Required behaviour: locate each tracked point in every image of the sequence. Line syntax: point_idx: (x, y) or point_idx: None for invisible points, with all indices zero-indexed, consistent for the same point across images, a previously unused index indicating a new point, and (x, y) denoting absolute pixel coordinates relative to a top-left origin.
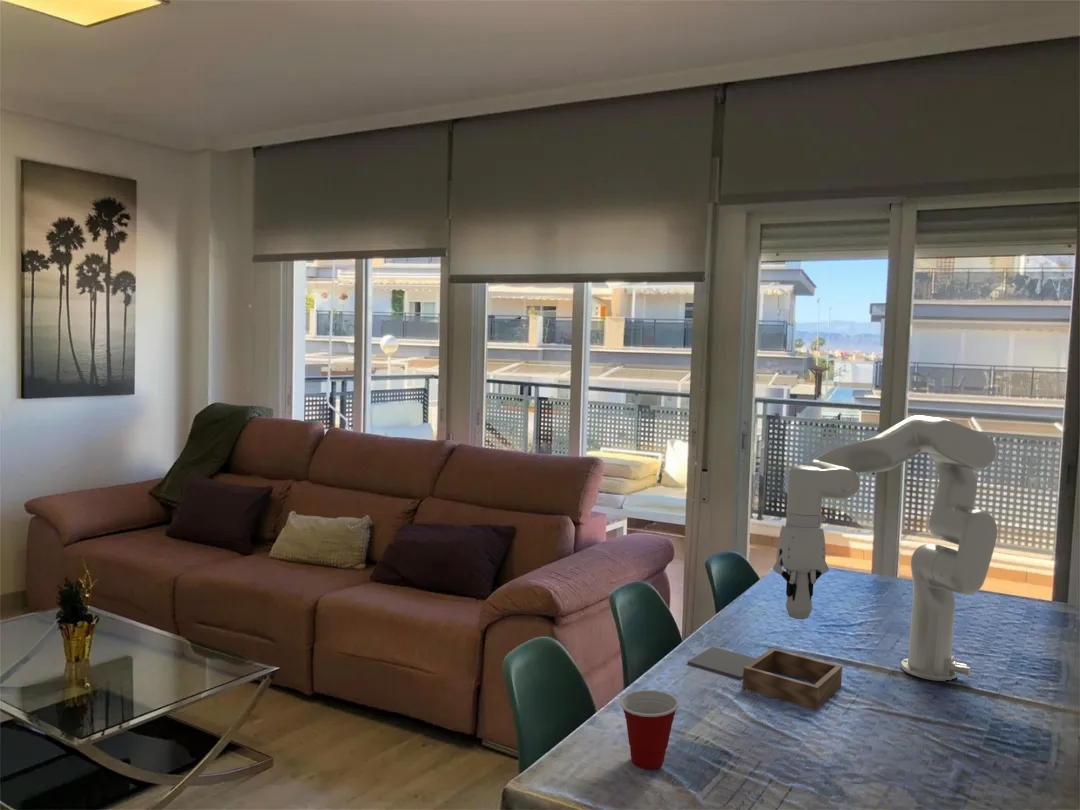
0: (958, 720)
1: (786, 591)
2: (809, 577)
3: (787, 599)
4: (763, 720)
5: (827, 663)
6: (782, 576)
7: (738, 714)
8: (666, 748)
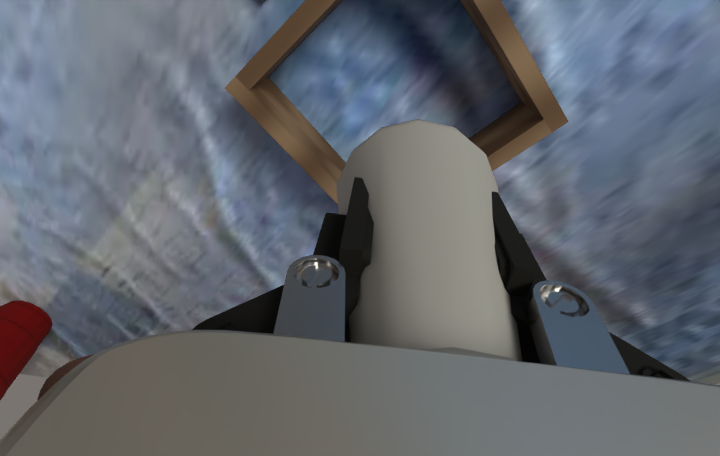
0: (644, 293)
1: (324, 222)
2: (532, 362)
3: (343, 193)
4: (244, 236)
5: (534, 93)
6: (239, 309)
7: (199, 207)
8: (36, 349)
